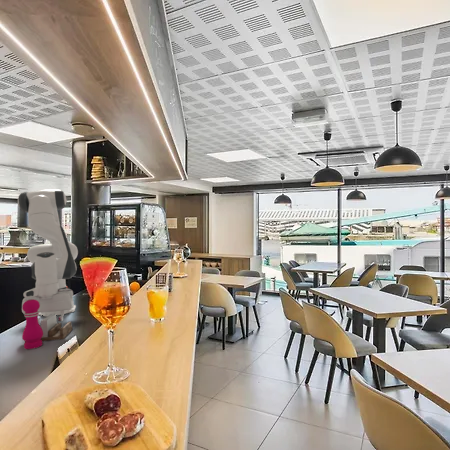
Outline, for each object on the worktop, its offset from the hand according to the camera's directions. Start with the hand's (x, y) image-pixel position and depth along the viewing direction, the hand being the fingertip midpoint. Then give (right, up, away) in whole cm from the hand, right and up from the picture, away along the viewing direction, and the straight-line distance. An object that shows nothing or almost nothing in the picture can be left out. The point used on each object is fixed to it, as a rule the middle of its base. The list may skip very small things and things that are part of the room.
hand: (49, 321), depth 148 cm
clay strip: (0, -5, 0) cm, 5 cm away
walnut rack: (0, -6, 0) cm, 6 cm away
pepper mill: (+1, -6, -13) cm, 15 cm away
